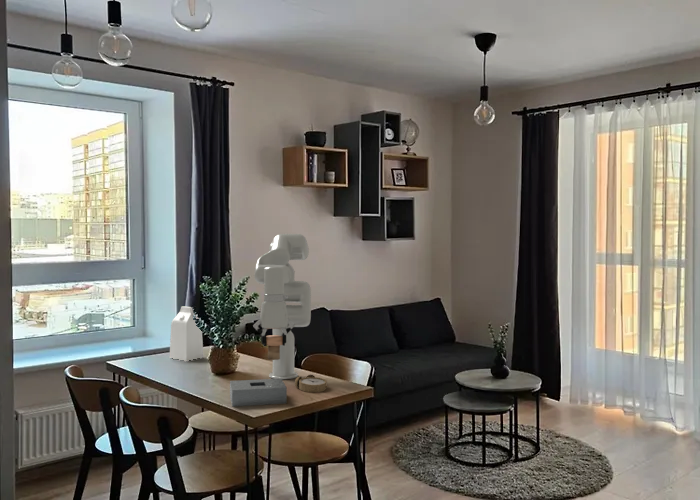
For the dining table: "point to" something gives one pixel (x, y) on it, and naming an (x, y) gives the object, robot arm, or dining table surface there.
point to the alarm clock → (311, 383)
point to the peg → (274, 346)
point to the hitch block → (258, 392)
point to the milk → (185, 336)
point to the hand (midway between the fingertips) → (273, 345)
